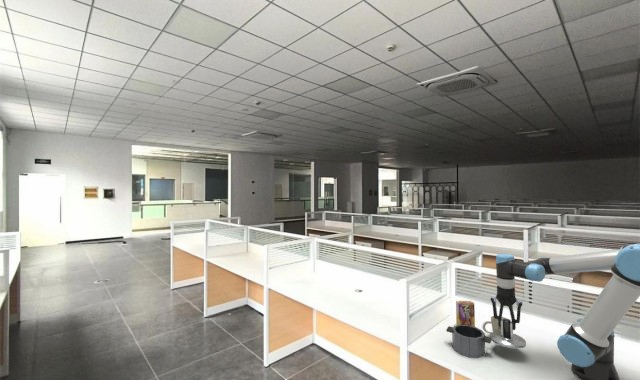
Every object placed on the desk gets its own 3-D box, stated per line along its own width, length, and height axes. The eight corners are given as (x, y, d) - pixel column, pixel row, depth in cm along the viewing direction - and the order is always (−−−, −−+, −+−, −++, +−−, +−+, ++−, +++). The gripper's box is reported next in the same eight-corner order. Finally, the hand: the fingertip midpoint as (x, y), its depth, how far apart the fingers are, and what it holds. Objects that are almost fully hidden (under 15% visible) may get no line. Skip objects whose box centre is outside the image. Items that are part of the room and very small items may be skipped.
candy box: (472, 326, 171) (471, 300, 171) (475, 330, 167) (475, 303, 166) (455, 326, 172) (455, 300, 172) (458, 330, 168) (458, 303, 167)
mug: (511, 342, 154) (512, 323, 154) (485, 340, 157) (485, 321, 156) (505, 334, 162) (505, 316, 162) (480, 332, 165) (480, 314, 164)
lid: (527, 338, 146) (526, 318, 146) (524, 352, 134) (524, 329, 134) (492, 330, 155) (491, 311, 155) (487, 342, 143) (486, 321, 143)
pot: (493, 349, 148) (493, 331, 148) (488, 363, 137) (488, 343, 136) (451, 337, 160) (451, 320, 160) (443, 349, 149) (443, 331, 149)
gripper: (526, 287, 143) (528, 336, 143) (488, 281, 153) (489, 327, 153) (525, 291, 137) (527, 343, 137) (485, 285, 147) (486, 333, 147)
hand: (507, 334), depth 145 cm, fingers closed on lid, 3 cm apart
